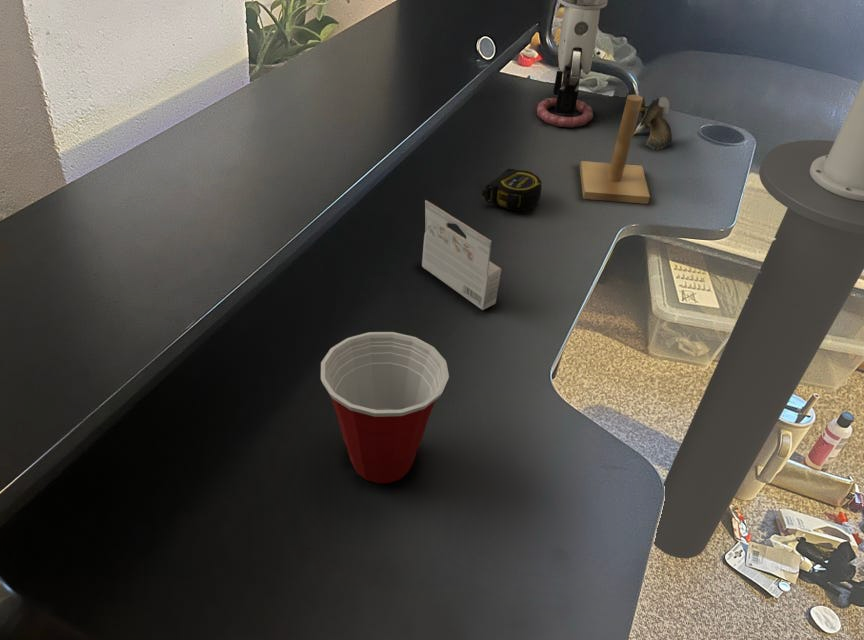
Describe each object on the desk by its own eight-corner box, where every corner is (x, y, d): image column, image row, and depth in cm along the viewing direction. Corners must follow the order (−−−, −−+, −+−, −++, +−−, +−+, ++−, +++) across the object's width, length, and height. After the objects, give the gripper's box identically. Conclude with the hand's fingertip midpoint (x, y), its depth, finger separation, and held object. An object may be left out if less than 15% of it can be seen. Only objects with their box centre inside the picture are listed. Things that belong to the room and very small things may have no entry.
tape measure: (505, 185, 107) (509, 161, 104) (547, 201, 104) (552, 177, 101) (480, 204, 103) (483, 180, 100) (523, 221, 100) (527, 197, 97)
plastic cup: (444, 422, 73) (454, 330, 65) (434, 512, 65) (444, 421, 57) (336, 409, 74) (333, 318, 66) (314, 497, 66) (306, 405, 58)
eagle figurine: (611, 116, 121) (628, 132, 114) (642, 78, 118) (661, 91, 111) (645, 142, 124) (663, 158, 116) (676, 105, 121) (697, 120, 113)
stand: (640, 172, 110) (664, 86, 101) (647, 204, 104) (674, 114, 95) (579, 168, 111) (598, 81, 102) (583, 199, 104) (603, 109, 95)
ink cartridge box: (434, 260, 93) (440, 192, 86) (497, 304, 87) (508, 234, 80) (419, 267, 92) (424, 198, 85) (482, 312, 86) (491, 242, 79)
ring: (589, 106, 127) (591, 97, 126) (593, 130, 120) (595, 121, 119) (535, 102, 127) (537, 93, 126) (536, 126, 121) (538, 117, 120)
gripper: (614, 12, 107) (589, 128, 120) (604, -24, 120) (582, 84, 132) (562, 9, 108) (542, 124, 120) (557, -27, 120) (539, 81, 133)
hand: (563, 102), depth 126 cm, fingers open, 6 cm apart
